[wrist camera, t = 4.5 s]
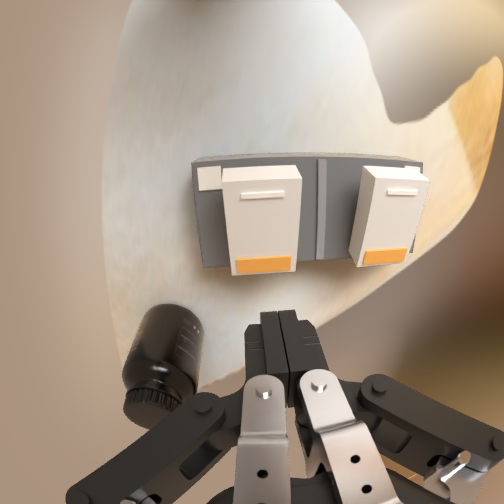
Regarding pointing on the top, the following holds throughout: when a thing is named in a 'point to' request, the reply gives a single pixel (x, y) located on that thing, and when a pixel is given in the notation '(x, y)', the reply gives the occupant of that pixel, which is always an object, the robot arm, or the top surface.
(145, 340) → the supplement bottle
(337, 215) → the switch panel
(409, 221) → the rocker
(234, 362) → the top surface
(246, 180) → the block
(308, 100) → the top surface
